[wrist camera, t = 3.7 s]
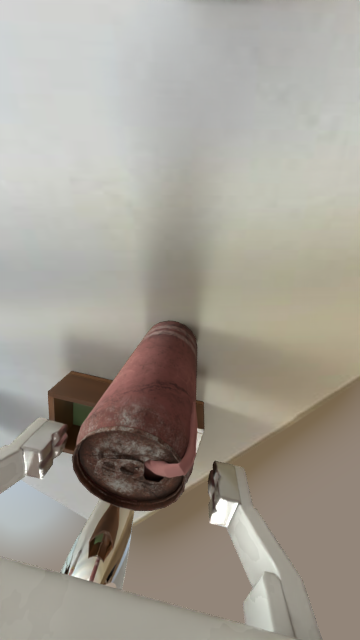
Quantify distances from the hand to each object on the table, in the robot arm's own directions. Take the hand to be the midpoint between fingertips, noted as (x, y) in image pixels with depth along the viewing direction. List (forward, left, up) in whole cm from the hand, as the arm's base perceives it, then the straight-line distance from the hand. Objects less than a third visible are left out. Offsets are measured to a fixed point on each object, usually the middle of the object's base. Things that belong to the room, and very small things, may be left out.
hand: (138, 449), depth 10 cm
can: (0, 0, -13) cm, 13 cm away
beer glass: (+25, -3, -13) cm, 28 cm away
